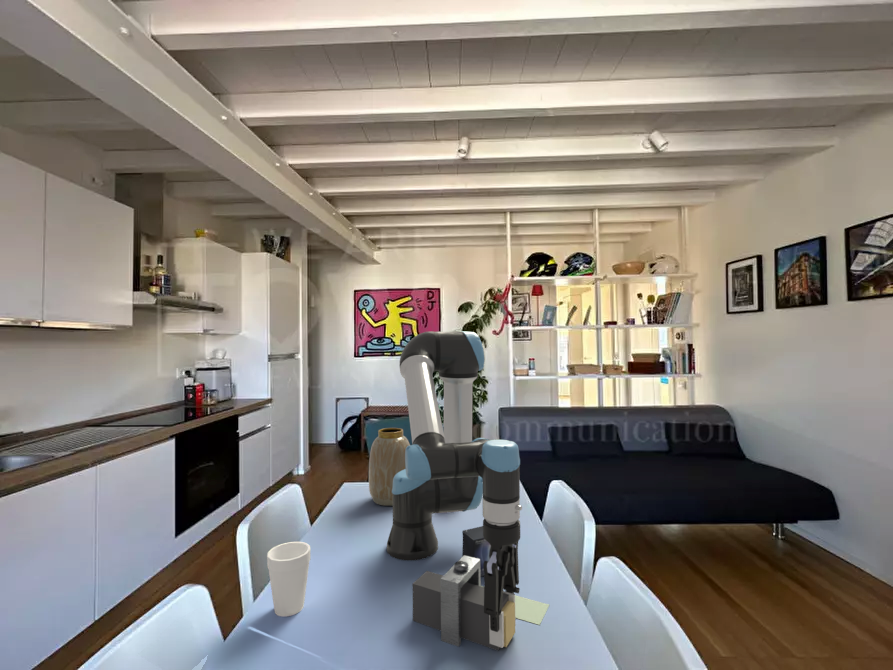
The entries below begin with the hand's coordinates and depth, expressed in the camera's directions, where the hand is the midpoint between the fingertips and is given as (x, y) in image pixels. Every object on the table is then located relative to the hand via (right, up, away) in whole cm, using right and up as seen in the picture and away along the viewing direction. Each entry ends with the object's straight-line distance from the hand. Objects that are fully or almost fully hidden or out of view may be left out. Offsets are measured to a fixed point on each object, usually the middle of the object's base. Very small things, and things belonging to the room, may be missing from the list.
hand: (502, 634), depth 87 cm
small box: (-1, -2, +28) cm, 28 cm away
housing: (-8, -2, +4) cm, 9 cm away
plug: (-9, -2, +5) cm, 10 cm away
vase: (-33, -4, +81) cm, 88 cm away
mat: (+2, -2, +12) cm, 13 cm away
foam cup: (-47, -2, +12) cm, 49 cm away
